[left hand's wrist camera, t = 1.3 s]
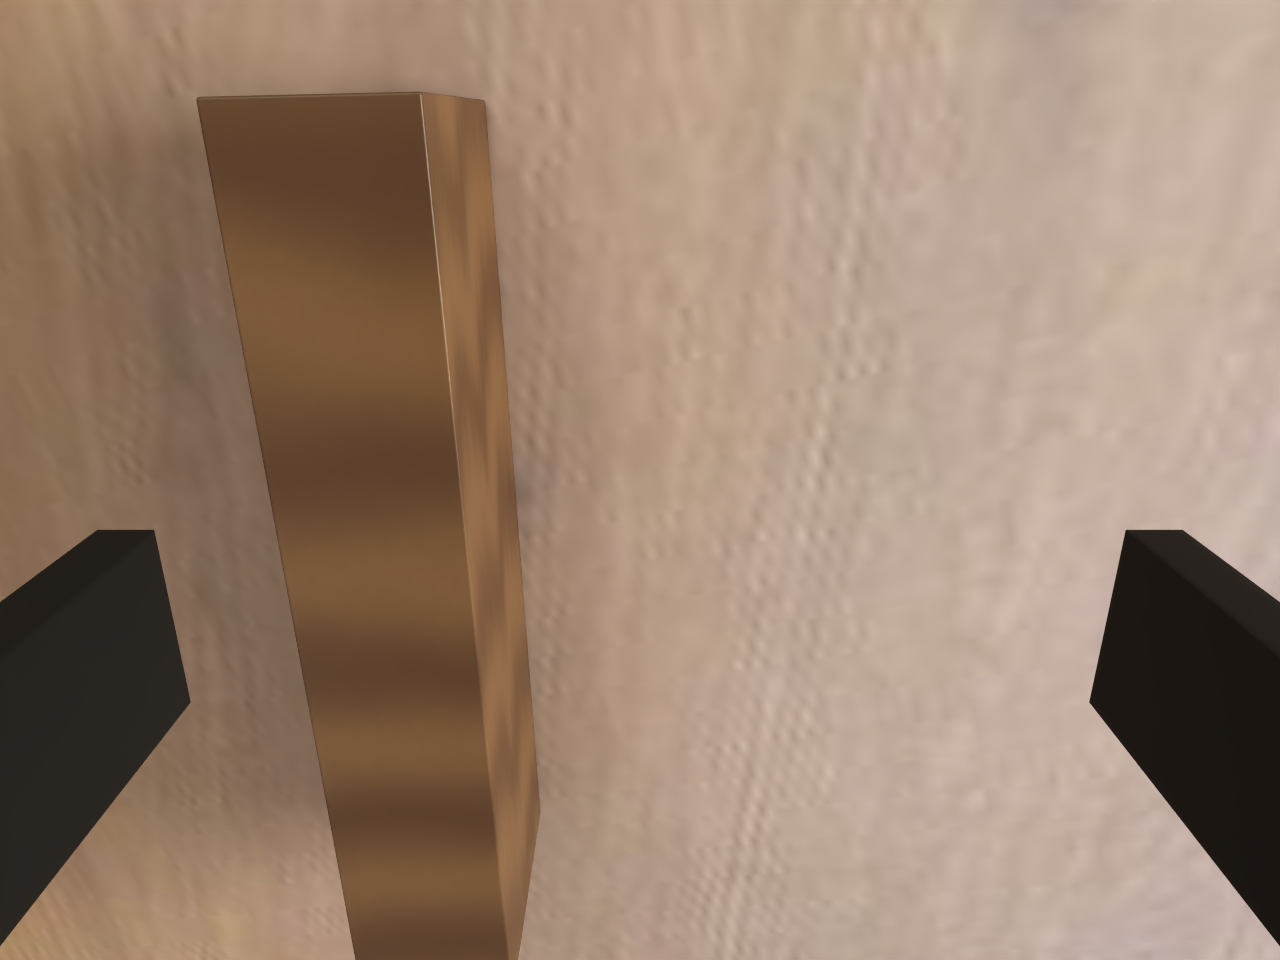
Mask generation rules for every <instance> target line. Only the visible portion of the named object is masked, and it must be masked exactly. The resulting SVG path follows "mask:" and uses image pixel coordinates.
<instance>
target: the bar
mask: <svg viewBox="0 0 1280 960" xmlns="http://www.w3.org/2000/svg"><path fill="white" fill-rule="evenodd" d="M197 106H198V111H199V116H200V122H201V127H202V133H203V138H204V143H205V149H206V154H207V160H208V165H209V170H210V176H211V181H212V187H213V192H214V197H215V203H216V208H217V214H218V219H219V224H220V230H221V235H222V241H223V246H224V251H225V257H226V262H227V268H228V273H229V279H230V284H231V289H232V295H233V300H234V306H235V311H236V316H237V322H238V327H239V333H240V338H241V343H242V349H243V354H244V360H245V365H246V370H247V376H248V381H249V387H250V392H251V397H252V403H253V408H254V414H255V419H256V424H257V430H258V435H259V441H260V446H261V451H262V457H263V462H264V468H265V473H266V479H267V484H268V489H269V495H270V500H271V506H272V511H273V516H274V522H275V527H276V533H277V538H278V543H279V549H280V554H281V560H282V565H283V570H284V576H285V581H286V587H287V592H288V597H289V603H290V608H291V614H292V619H293V624H294V630H295V635H296V641H297V646H298V652H299V657H300V662H301V668H302V673H303V679H304V684H305V689H306V695H307V700H308V706H309V711H310V716H311V722H312V727H313V733H314V738H315V743H316V749H317V754H318V760H319V765H320V770H321V776H322V781H323V787H324V792H325V797H326V803H327V808H328V814H329V819H330V824H331V830H332V835H333V841H334V846H335V852H336V857H337V862H338V868H339V873H340V879H341V884H342V889H343V895H344V900H345V906H346V911H347V916H348V922H349V927H350V933H351V938H352V943H353V949H354V954H355V960H518V957H519V950H520V943H521V937H522V930H523V924H524V917H525V910H526V904H527V897H528V890H529V884H530V877H531V871H532V864H533V857H534V851H535V844H536V837H537V831H538V824H539V818H540V803H539V790H538V778H537V765H536V752H535V739H534V726H533V713H532V700H531V687H530V675H529V662H528V649H527V636H526V623H525V610H524V597H523V584H522V572H521V559H520V546H519V533H518V520H517V507H516V494H515V481H514V468H513V456H512V443H511V430H510V417H509V404H508V391H507V378H506V365H505V353H504V340H503V327H502V314H501V301H500V288H499V275H498V262H497V249H496V237H495V224H494V211H493V198H492V185H491V172H490V159H489V146H488V134H487V121H486V108H485V101H484V100H478V99H471V98H463V97H455V96H448V95H440V94H432V93H425V92H387V93H345V94H303V95H260V96H218V97H198V98H197Z"/></svg>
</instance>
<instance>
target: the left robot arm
mask: <svg viewBox="0 0 1280 960" xmlns="http://www.w3.org/2000/svg"><path fill="white" fill-rule="evenodd" d="M189 704H190V697H189V692H188V688H187V683H186V678H185V673H184V669H183V664H182V659H181V655H180V650H179V645H178V640H177V636H176V631H175V626H174V621H173V617H172V612H171V607H170V603H169V598H168V593H167V588H166V584H165V579H164V574H163V570H162V565H161V560H160V555H159V551H158V546H157V541H156V537H155V532H154V530H97V531H95V532H94V533H93V534H91V535H90V536H89V537H87V538H86V539H85V540H83V541H82V542H81V543H79V544H78V545H76V546H75V547H74V548H72V549H71V550H70V551H68V552H67V553H66V554H64V555H63V556H62V557H60V558H59V559H58V560H56V561H55V562H54V563H52V564H51V565H50V566H48V567H47V568H46V569H44V570H43V571H41V572H40V573H39V574H37V575H36V576H35V577H33V578H32V579H31V580H29V581H28V582H27V583H25V584H24V585H23V586H21V587H20V588H19V589H17V590H16V591H15V592H13V593H12V594H11V595H9V596H8V597H6V598H5V599H4V600H2V601H1V602H0V946H1V944H2V943H3V942H4V940H5V939H6V938H7V937H8V935H9V934H10V933H11V932H12V930H13V929H14V928H15V926H16V925H17V924H18V923H19V921H20V920H21V919H22V917H23V916H24V915H25V914H26V912H27V911H28V910H29V908H30V907H31V906H32V905H33V903H34V902H35V901H36V900H37V898H38V897H39V896H40V894H41V893H42V892H43V891H44V889H45V888H46V887H47V885H48V884H49V883H50V882H51V880H52V879H53V878H54V876H55V875H56V874H57V873H58V871H59V870H60V869H61V868H62V866H63V865H64V864H65V862H66V861H67V860H68V859H69V857H70V856H71V855H72V853H73V852H74V851H75V850H76V848H77V847H78V846H79V844H80V843H81V842H82V841H83V839H84V838H85V837H86V835H87V834H88V833H89V832H90V830H91V829H92V828H93V827H94V825H95V824H96V823H97V821H98V820H99V819H100V818H101V816H102V815H103V814H104V812H105V811H106V810H107V809H108V807H109V806H110V805H111V803H112V802H113V801H114V800H115V798H116V797H117V796H118V795H119V793H120V792H121V791H122V789H123V788H124V787H125V786H126V784H127V783H128V782H129V780H130V779H131V778H132V777H133V775H134V774H135V773H136V771H137V770H138V769H139V768H140V766H141V765H142V764H143V763H144V761H145V760H146V759H147V757H148V756H149V755H150V754H151V752H152V751H153V750H154V748H155V747H156V746H157V745H158V743H159V742H160V741H161V739H162V738H163V737H164V736H165V734H166V733H167V732H168V731H169V729H170V728H171V727H172V725H173V724H174V723H175V722H176V720H177V719H178V718H179V716H180V715H181V714H182V713H183V711H184V710H185V709H186V707H187V706H188V705H189ZM1090 704H1091V705H1092V706H1093V707H1094V709H1095V710H1096V711H1097V713H1098V714H1099V715H1100V716H1101V718H1102V719H1103V720H1104V722H1105V723H1106V724H1107V725H1108V727H1109V728H1110V729H1111V731H1112V732H1113V733H1114V734H1115V736H1116V737H1117V738H1118V739H1119V741H1120V742H1121V743H1122V745H1123V746H1124V747H1125V748H1126V750H1127V751H1128V752H1129V754H1130V755H1131V756H1132V757H1133V759H1134V760H1135V761H1136V763H1137V764H1138V765H1139V766H1140V768H1141V769H1142V770H1143V771H1144V773H1145V774H1146V775H1147V777H1148V778H1149V779H1150V780H1151V782H1152V783H1153V784H1154V786H1155V787H1156V788H1157V789H1158V791H1159V792H1160V793H1161V795H1162V796H1163V797H1164V798H1165V800H1166V801H1167V802H1168V803H1169V805H1170V806H1171V807H1172V809H1173V810H1174V811H1175V812H1176V814H1177V815H1178V816H1179V818H1180V819H1181V820H1182V821H1183V823H1184V824H1185V825H1186V827H1187V828H1188V829H1189V830H1190V832H1191V833H1192V834H1193V836H1194V837H1195V838H1196V839H1197V841H1198V842H1199V843H1200V844H1201V846H1202V847H1203V848H1204V850H1205V851H1206V852H1207V853H1208V855H1209V856H1210V857H1211V859H1212V860H1213V861H1214V862H1215V864H1216V865H1217V866H1218V868H1219V869H1220V870H1221V871H1222V873H1223V874H1224V875H1225V876H1226V878H1227V879H1228V880H1229V882H1230V883H1231V884H1232V885H1233V887H1234V888H1235V889H1236V891H1237V892H1238V893H1239V894H1240V896H1241V897H1242V898H1243V900H1244V901H1245V902H1246V903H1247V905H1248V906H1249V907H1250V908H1251V910H1252V911H1253V912H1254V914H1255V915H1256V916H1257V917H1258V919H1259V920H1260V921H1261V923H1262V924H1263V925H1264V926H1265V928H1266V929H1267V930H1268V932H1269V933H1270V934H1271V935H1272V937H1273V938H1274V939H1275V940H1276V942H1277V943H1278V944H1279V946H1280V602H1279V601H1278V600H1276V599H1275V598H1274V597H1272V596H1271V595H1269V594H1268V593H1267V592H1265V591H1264V590H1263V589H1261V588H1260V587H1259V586H1257V585H1256V584H1255V583H1253V582H1252V581H1251V580H1249V579H1248V578H1247V577H1245V576H1244V575H1243V574H1241V573H1240V572H1239V571H1237V570H1236V569H1234V568H1233V567H1232V566H1230V565H1229V564H1228V563H1226V562H1225V561H1224V560H1222V559H1221V558H1220V557H1218V556H1217V555H1216V554H1214V553H1213V552H1212V551H1210V550H1209V549H1208V548H1206V547H1205V546H1204V545H1202V544H1201V543H1199V542H1198V541H1197V540H1195V539H1194V538H1193V537H1191V536H1190V535H1189V534H1187V533H1186V532H1185V531H1183V530H1126V532H1125V537H1124V541H1123V546H1122V551H1121V555H1120V560H1119V565H1118V570H1117V574H1116V579H1115V584H1114V588H1113V593H1112V598H1111V603H1110V607H1109V612H1108V617H1107V621H1106V626H1105V631H1104V636H1103V640H1102V645H1101V650H1100V654H1099V659H1098V664H1097V669H1096V673H1095V678H1094V683H1093V688H1092V692H1091V697H1090Z"/></svg>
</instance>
